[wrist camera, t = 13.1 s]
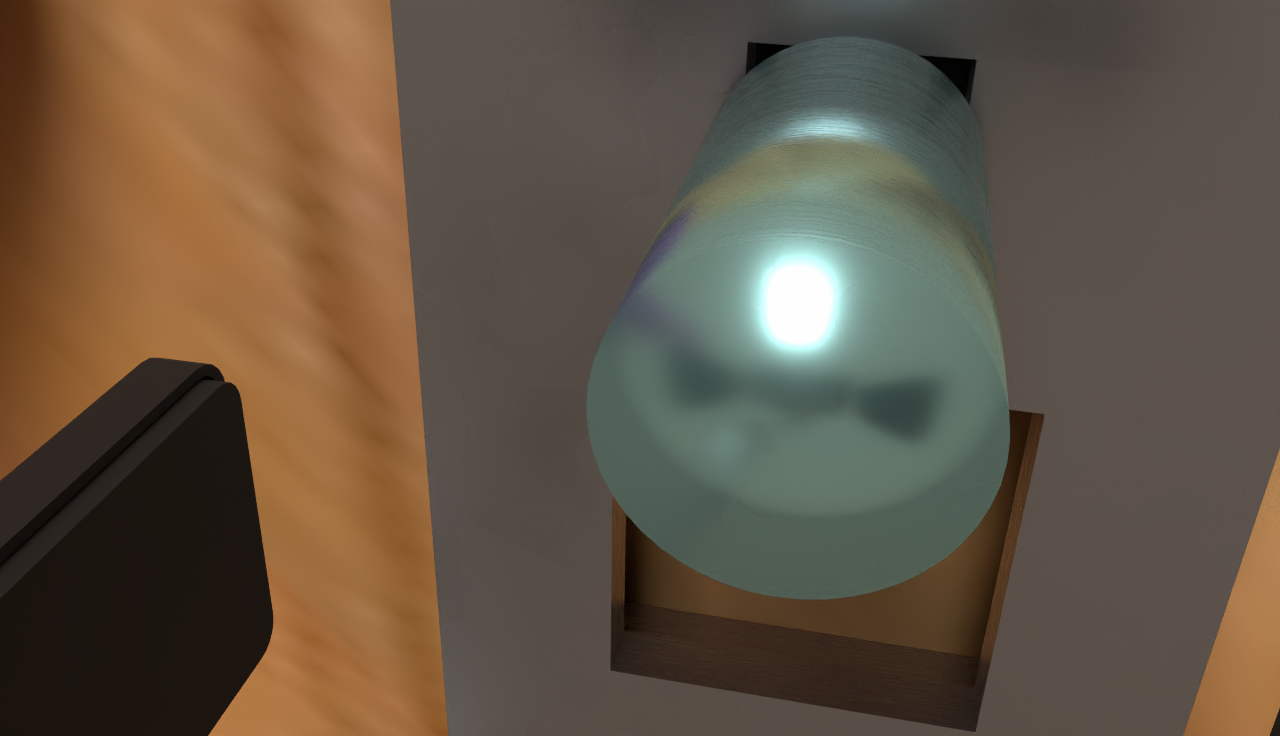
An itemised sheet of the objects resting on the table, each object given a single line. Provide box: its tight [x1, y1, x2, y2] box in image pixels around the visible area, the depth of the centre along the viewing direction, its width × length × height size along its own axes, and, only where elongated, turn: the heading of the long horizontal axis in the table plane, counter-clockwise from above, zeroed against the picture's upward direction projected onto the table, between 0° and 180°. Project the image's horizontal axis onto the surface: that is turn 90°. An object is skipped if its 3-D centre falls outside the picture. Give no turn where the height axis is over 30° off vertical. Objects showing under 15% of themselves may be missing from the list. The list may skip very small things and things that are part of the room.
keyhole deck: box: [390, 0, 1280, 736], centre depth 22 cm, size 20×14×4 cm
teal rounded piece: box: [586, 36, 1010, 600], centre depth 17 cm, size 5×5×12 cm
